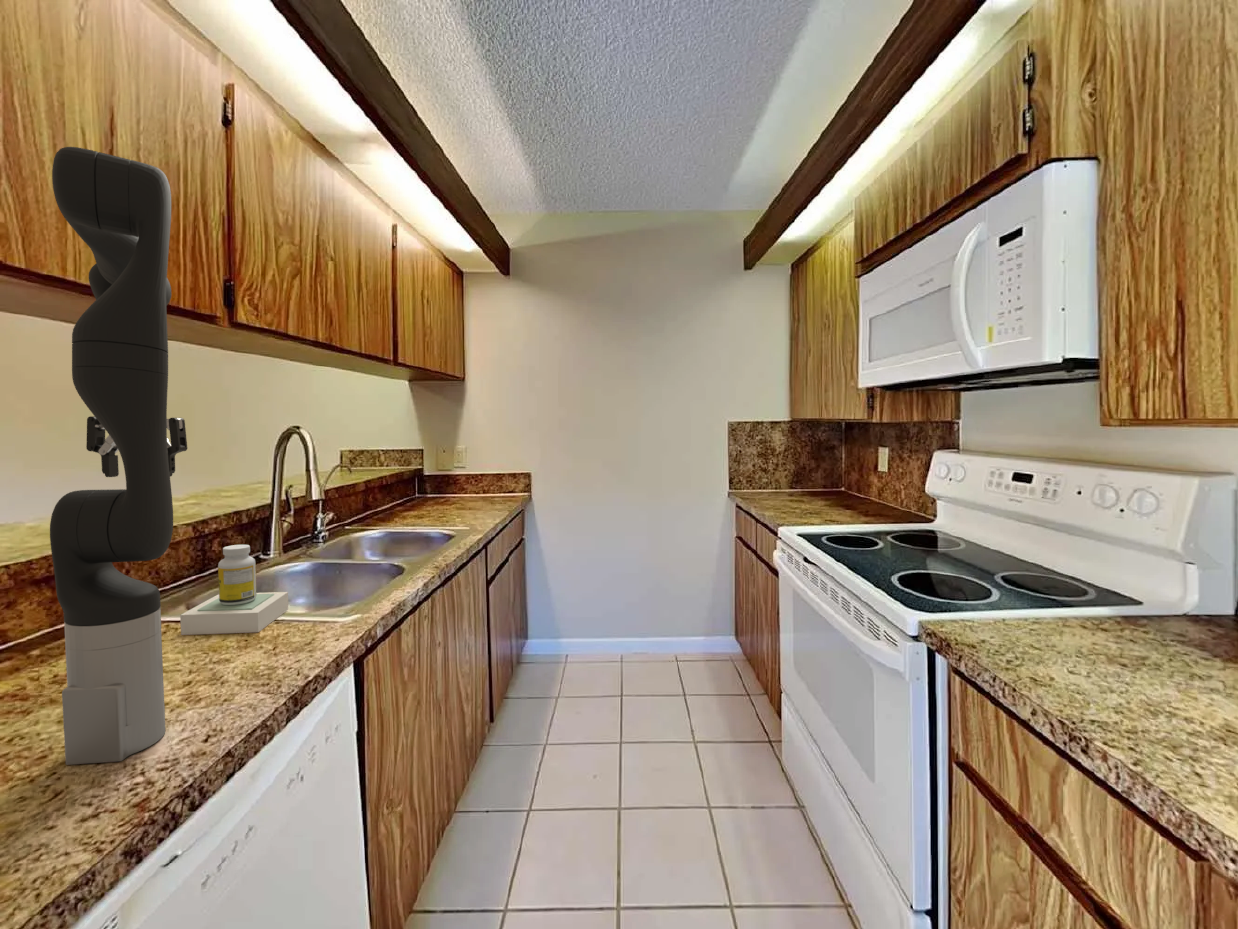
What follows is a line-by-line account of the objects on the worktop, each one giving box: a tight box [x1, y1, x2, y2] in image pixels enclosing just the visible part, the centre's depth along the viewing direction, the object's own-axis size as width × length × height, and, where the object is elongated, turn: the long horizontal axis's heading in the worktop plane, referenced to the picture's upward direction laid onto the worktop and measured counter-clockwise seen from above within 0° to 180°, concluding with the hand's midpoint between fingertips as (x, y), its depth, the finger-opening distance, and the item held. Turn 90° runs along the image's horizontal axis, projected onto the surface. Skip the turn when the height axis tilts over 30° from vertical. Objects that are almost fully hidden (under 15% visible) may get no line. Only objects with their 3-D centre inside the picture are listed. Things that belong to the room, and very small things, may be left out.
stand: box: [179, 591, 289, 636], centre depth 118 cm, size 14×14×4 cm
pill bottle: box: [217, 544, 257, 605], centre depth 118 cm, size 6×6×12 cm
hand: (139, 476), depth 99 cm, fingers open, 8 cm apart
